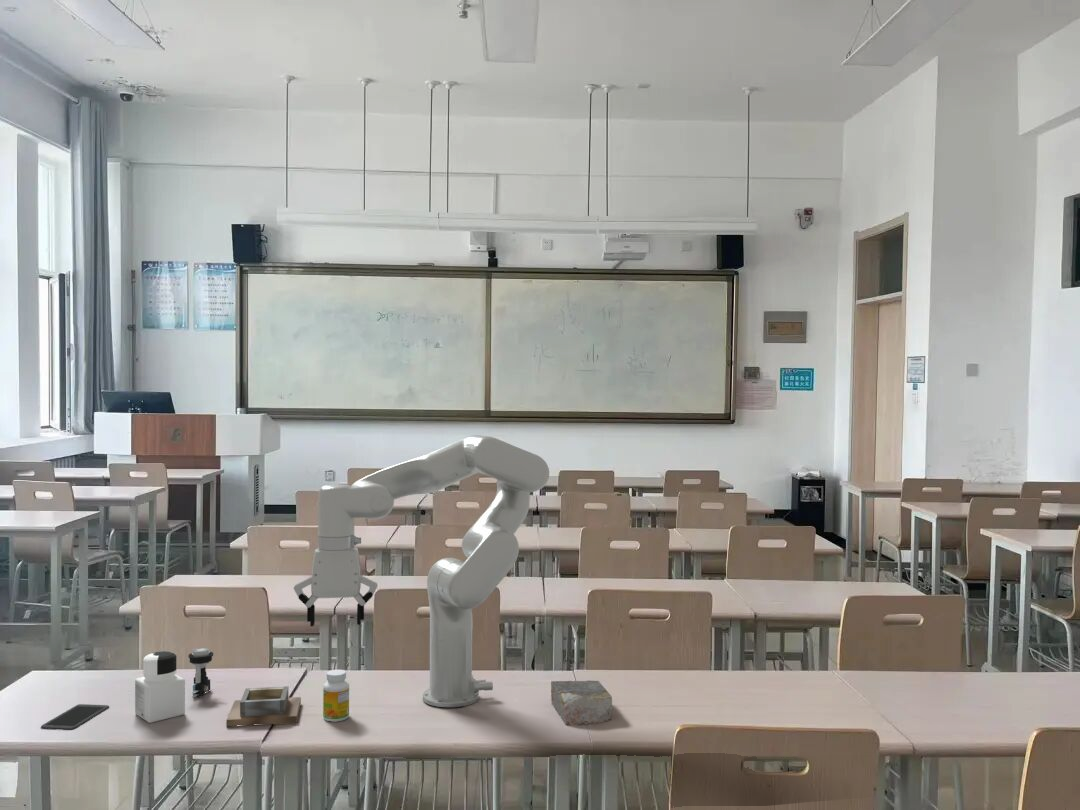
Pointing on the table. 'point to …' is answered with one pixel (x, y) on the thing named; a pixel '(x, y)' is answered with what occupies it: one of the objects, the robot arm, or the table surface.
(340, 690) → the supplement bottle
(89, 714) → the cell phone
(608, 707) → the geological specimen
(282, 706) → the collar board
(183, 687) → the container
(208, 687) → the push button
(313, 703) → the table surface
